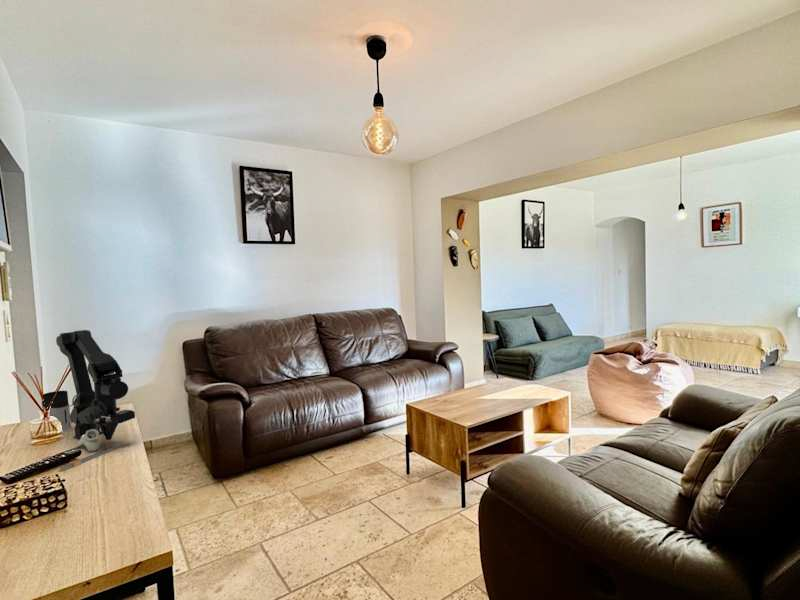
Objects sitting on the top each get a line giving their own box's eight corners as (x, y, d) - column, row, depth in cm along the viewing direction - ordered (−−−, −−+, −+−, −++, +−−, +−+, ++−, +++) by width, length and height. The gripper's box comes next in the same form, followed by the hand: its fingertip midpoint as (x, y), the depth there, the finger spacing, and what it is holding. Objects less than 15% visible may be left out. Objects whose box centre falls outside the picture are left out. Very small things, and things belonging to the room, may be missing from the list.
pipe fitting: (103, 447, 135) (98, 427, 136) (88, 451, 132) (83, 431, 133) (96, 452, 139) (91, 433, 141) (82, 456, 136) (77, 437, 138)
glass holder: (49, 430, 158) (46, 391, 157) (93, 424, 162) (90, 387, 161) (37, 438, 149) (34, 397, 148) (83, 432, 153) (80, 393, 153)
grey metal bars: (93, 443, 142) (93, 438, 142) (123, 446, 138) (123, 441, 138) (31, 468, 124) (30, 463, 124) (63, 472, 120) (63, 467, 120)
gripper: (60, 400, 135) (64, 447, 136) (103, 403, 130) (107, 451, 131) (93, 391, 146) (97, 434, 146) (134, 393, 140) (138, 438, 141)
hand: (108, 439), depth 141 cm, fingers closed
